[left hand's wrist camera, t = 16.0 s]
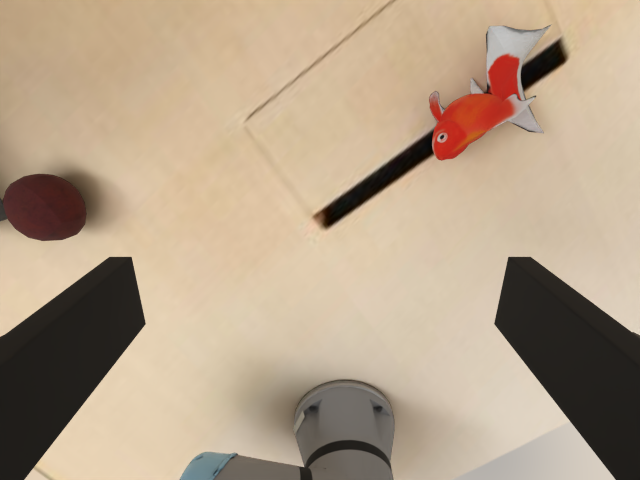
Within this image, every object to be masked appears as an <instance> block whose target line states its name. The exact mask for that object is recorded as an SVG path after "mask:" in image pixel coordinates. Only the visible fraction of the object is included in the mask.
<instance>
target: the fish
mask: <svg viewBox="0 0 640 480" xmlns="http://www.w3.org/2000/svg"><path fill="white" fill-rule="evenodd" d="M551 25H552V24H551ZM551 25H549V26H547V27H545V28H543V29H538V30H518V29H514V28H510V27H506V26H489V28H488V31H487V34H486V43H487V91H488V93H489V94H484V93H483V91H482V90H481V89H480V88H479V86H478V85H477V84H476V82H475V81H474V80H473V78H471V85H470V89H471V94H469V95H466V96H463V97H461V98H459V99H457V100H455V101H453V102H452V103H451V104H450V105H449V106H448V107H447V108H446V109H444V108H442V107H441V105H440V102H439V93H438V92H437V91H435V92H433V93H432V94H431V95H430V97H429V102H430V110H431V112H432V114H433V116H434V117H435V119H436V120H437V121H438V122H437V125H436V127H435V129H434V134H433V139H432V148H433V151H434V154H435V156H436V157H437V159H438V160H441V161H442V160H445V159H453V158H455V157H456V156H458V155H459V154H460V153H461V152H463V151H464V150H465V148H466V147H467V146H468V145H469V144H470V143H472V142H473V141H475V140H477V139H479V138H480V137H482V136H483V135H484V134H485V133H486V132H487V131H489V130H491V129H493V128H495V127H496V126H498V125H500V124H502V123H504V122H506V121H509V122H511V123H513V124H515V125H517V126H519V127H521V128H523V129H525V130H527V131H529V132H538V133H544V132H543V131H542V129H541V127H540V126H539V124H538V123H537V121H536V120H535V118H534V115H533V113H532V111H531V109H530V107H529V104H530V103H531V102H532V101H533V100H534V99H535V97H536V96H533V97H531V98H529V99H527V100H526V98H525V95H524V91H523V88H522V85H521V77H520V74H521V67H522V64H523V61H524V59H525V58H526V56H527V55H528V53H529V52H530V51H531V50H532V48H533V47H534V46H535V44H536V43H537V42H538V41H539V39H540V38H541V37H542V36H543V34H544V33H545V32H546V31H547V29H548V28H549V27H550V26H551Z"/></svg>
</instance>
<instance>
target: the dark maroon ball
mask: <svg viewBox="0 0 640 480" xmlns="http://www.w3.org/2000/svg"><path fill="white" fill-rule="evenodd" d="M3 206H4V210H5V213H6V216H7V218H8V220H9V221H10V223H11V224H12V225H13V226H14V228H15V229H16V230H18V231H19V232H21V233H22V234H24V235H25V236H27V237H28V238H32V239H37V240H41V241H51V240H63V239H66V238H69V237H71V236H74V235H76V234H78V233H79V232H80V230H81V229H82V228H83V226H84V225H85V220H86V209H85V203H84V201H83V199H82V197H81V195H80V193H79V191H78V190H77V189H76V188H75V187H74V186H73V185H72V184H70V183H69V182H67V181H66V180H64V179H62V178H60V177H57V176H54V175H48V174H34V175H29V176H24V177H22V178H20V179H18V180H17V181H15V182H13V183H12V184H10V186H9V187H8V188H7V190H6V192H5V196H4V199H3Z"/></svg>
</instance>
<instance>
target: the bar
mask: <svg viewBox="0 0 640 480" xmlns="http://www.w3.org/2000/svg"><path fill="white" fill-rule="evenodd" d="M5 219H8V218H7V216H6V213H5V210H4V206H3V203H2V201H1V199H0V221H3V220H5Z"/></svg>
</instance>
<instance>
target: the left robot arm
mask: <svg viewBox="0 0 640 480" xmlns="http://www.w3.org/2000/svg"><path fill="white" fill-rule="evenodd" d="M145 324H146V323H145V319H144V314H143V309H142V304H141V300H140V295H139V290H138V285H137V281H136V276H135V271H134V266H133V262H132V257H109V258H108V259H106V260H105V261H103V262H102V263H101V264H99V265H98V266H97V267H95V268H94V269H93V270H91V271H90V272H89V273H87V274H86V275H85V276H83V277H82V278H81V279H79V280H78V281H77V282H75V283H74V284H73V285H71V286H70V287H69V288H67V289H66V290H64V291H63V292H62V293H60V294H59V295H58V296H56V297H55V298H54V299H52V300H51V301H50V302H48V303H47V304H46V305H44V306H43V307H42V308H40V309H39V310H38V311H36V312H35V313H34V314H32V315H31V316H30V317H28V318H27V319H25V320H24V321H23V322H21V323H20V324H19V325H17V326H16V327H15V328H13V329H12V330H11V331H9V332H8V333H7V334H5V335H3V336H1V337H0V480H24V479H25V478H26V477H27V475H28V474H29V473H30V471H31V470H32V469H33V468H34V466H35V465H36V464H37V463H38V461H39V460H40V459H41V457H42V456H43V455H44V454H45V452H46V451H47V450H48V448H49V447H50V446H51V445H52V443H53V442H54V441H55V439H56V438H57V437H58V436H59V434H60V433H61V432H62V430H63V429H64V428H65V427H66V425H67V424H68V423H69V422H70V420H71V419H72V418H73V416H74V415H75V414H76V413H77V411H78V410H79V409H80V407H81V406H82V405H83V404H84V402H85V401H86V400H87V398H88V397H89V396H90V395H91V393H92V392H93V391H94V389H95V388H96V387H97V386H98V384H99V383H100V382H101V380H102V379H103V378H104V377H105V375H106V374H107V373H108V372H109V370H110V369H111V368H112V366H113V365H114V364H115V363H116V361H117V360H118V359H119V357H120V356H121V355H122V354H123V352H124V351H125V350H126V348H127V347H128V346H129V345H130V343H131V342H132V341H133V339H134V338H135V337H136V336H137V334H138V333H139V332H140V331H141V329H142V328H143V327H144V325H145ZM494 324H495V325H496V327H497V328H498V329H499V331H500V332H501V333H502V334H503V336H504V337H505V338H506V339H507V341H508V342H509V343H510V345H511V346H512V347H513V348H514V350H515V351H516V352H517V354H518V355H519V356H520V357H521V359H522V360H523V361H524V363H525V364H526V365H527V366H528V368H529V369H530V370H531V372H532V373H533V374H534V375H535V377H536V378H537V379H538V380H539V382H540V383H541V384H542V386H543V387H544V388H545V389H546V391H547V392H548V393H549V395H550V396H551V397H552V398H553V400H554V401H555V402H556V404H557V405H558V406H559V407H560V409H561V410H562V411H563V413H564V414H565V415H566V416H567V418H568V419H569V420H570V422H571V423H572V424H573V425H574V427H575V428H576V429H577V430H578V432H579V433H580V434H581V436H582V437H583V438H584V439H585V441H586V442H587V443H588V445H589V446H590V447H591V448H592V450H593V451H594V452H595V454H596V455H597V456H598V457H599V459H600V460H601V461H602V462H603V464H604V465H605V466H606V468H607V469H608V470H609V471H610V473H611V474H612V475H613V477H614V478H615V479H616V480H640V335H638V334H636V333H634V332H631V331H629V330H628V329H627V328H625V327H624V326H623V325H621V324H620V323H619V322H617V321H616V320H615V319H613V318H612V317H610V316H609V315H608V314H606V313H605V312H604V311H602V310H601V309H600V308H598V307H597V306H596V305H594V304H593V303H592V302H590V301H589V300H588V299H586V298H585V297H584V296H582V295H581V294H580V293H578V292H577V291H576V290H574V289H573V288H571V287H570V286H569V285H567V284H566V283H565V282H563V281H562V280H561V279H559V278H558V277H557V276H555V275H554V274H553V273H551V272H550V271H549V270H547V269H546V268H545V267H543V266H542V265H541V264H539V263H538V262H537V261H535V260H534V259H532V258H531V257H508V262H507V266H506V271H505V276H504V281H503V285H502V290H501V295H500V300H499V304H498V309H497V314H496V319H495V323H494ZM293 429H294V434H295V436H296V439H297V443H298V446H299V450H300V453H301V456H302V460H303V463H304V467H299V466H295V465H289V464H283V463H277V462H272V461H266V460H261V459H256V458H251V457H245V456H240V455H238V454H237V453H232V454H223V453H215V452H204V453H201V454H199V455H198V456H196V457H195V458H194V459H193V460H192V461H191V462H190V464H189V465H188V466H187V468H186V469H185V471H184V473H183V474H182V476H181V478H180V480H394V479H393V474H392V470H391V465H390V459H391V451H392V444H393V437H394V429H395V426H394V416H393V412H392V408H391V405H390V403H389V401H388V400H387V398H386V397H385V396H384V395H383V394H382V393H381V392H380V391H378V390H377V389H375V388H374V387H372V386H370V385H367V384H365V383H361V382H357V381H348V380H342V381H333V382H329V383H325V384H322V385H320V386H318V387H316V388H314V389H312V390H311V391H310V392H308V393H307V394H306V395H305V396H304V397H303V398H302V399H301V401H300V402H299V404H298V406H297V409H296V412H295V421H294V428H293Z"/></svg>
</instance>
